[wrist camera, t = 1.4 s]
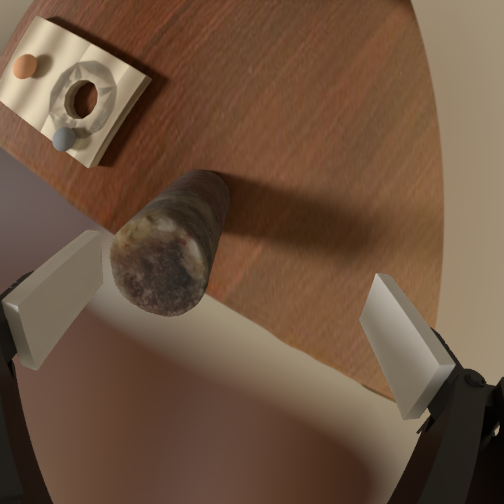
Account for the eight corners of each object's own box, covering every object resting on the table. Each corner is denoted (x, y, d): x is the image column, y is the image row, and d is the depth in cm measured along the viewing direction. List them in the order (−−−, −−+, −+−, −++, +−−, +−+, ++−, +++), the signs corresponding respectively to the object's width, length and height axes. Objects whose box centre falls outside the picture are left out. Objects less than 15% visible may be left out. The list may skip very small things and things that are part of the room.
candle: (211, 239, 40) (180, 336, 21) (160, 211, 38) (88, 287, 20) (241, 187, 37) (233, 248, 19) (188, 158, 36) (125, 189, 17)
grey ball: (59, 129, 31) (46, 130, 29) (78, 124, 31) (66, 124, 28) (62, 152, 32) (49, 155, 30) (81, 147, 32) (68, 150, 30)
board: (3, 95, 31) (-7, 95, 28) (45, 19, 27) (36, 15, 25) (97, 165, 36) (88, 168, 33) (152, 78, 32) (145, 75, 30)
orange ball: (23, 60, 27) (8, 58, 24) (42, 52, 27) (27, 48, 24) (23, 83, 28) (7, 82, 25) (41, 75, 28) (26, 73, 25)
